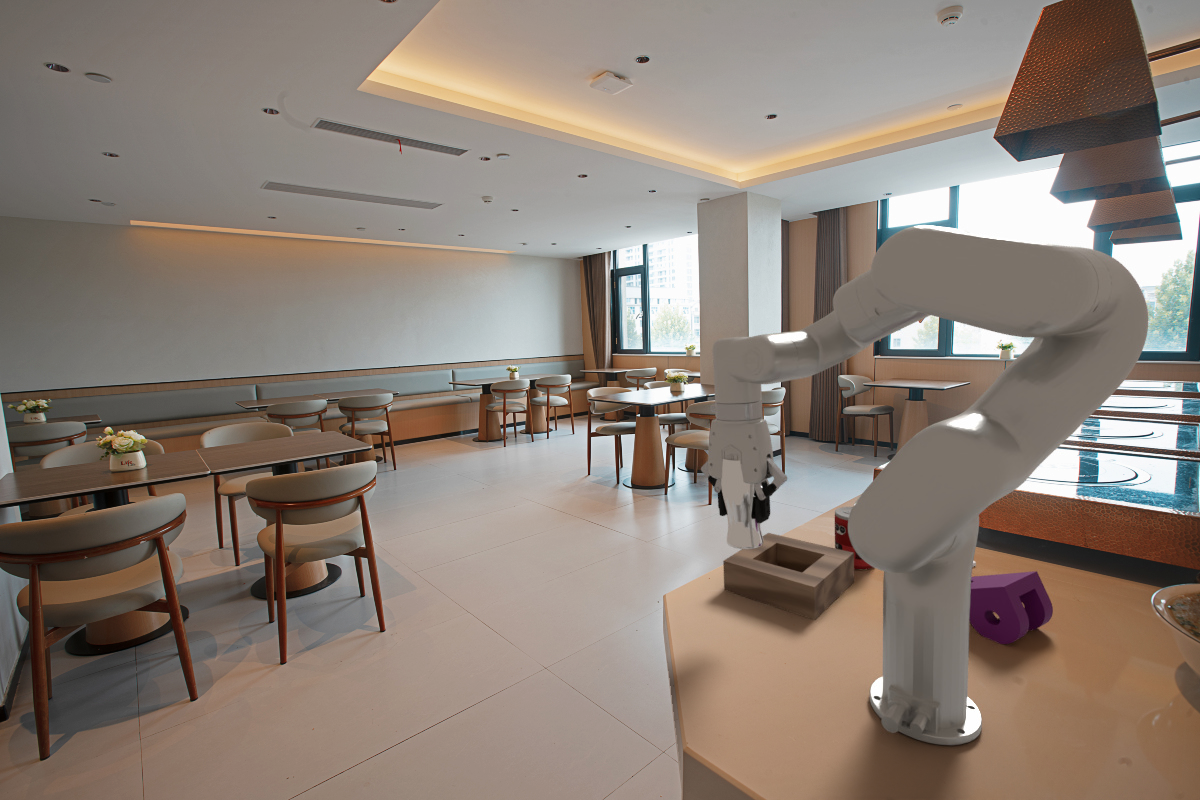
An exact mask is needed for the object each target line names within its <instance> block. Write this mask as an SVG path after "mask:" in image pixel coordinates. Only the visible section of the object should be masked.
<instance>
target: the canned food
mask: <svg viewBox="0 0 1200 800" xmlns="http://www.w3.org/2000/svg"><path fill="white" fill-rule="evenodd" d="M852 507H853V506H842V507H838V508H836V509H835V511H834V548H836V549H840V550H844V551H849V552H853V553H854V570H856V569H867V570H870V568H871V569H873V568H874V567H872V566H871V565H869V564H868V563H866V562H865V561H864V560H863V559H862V558H861V557H860V556H859V555H858V554H857V553H856V551H855V550H854V548H853V546H852V544H851V541H850V538H849V534H848V519H849V515H850V512H851V509H852Z"/></svg>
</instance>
